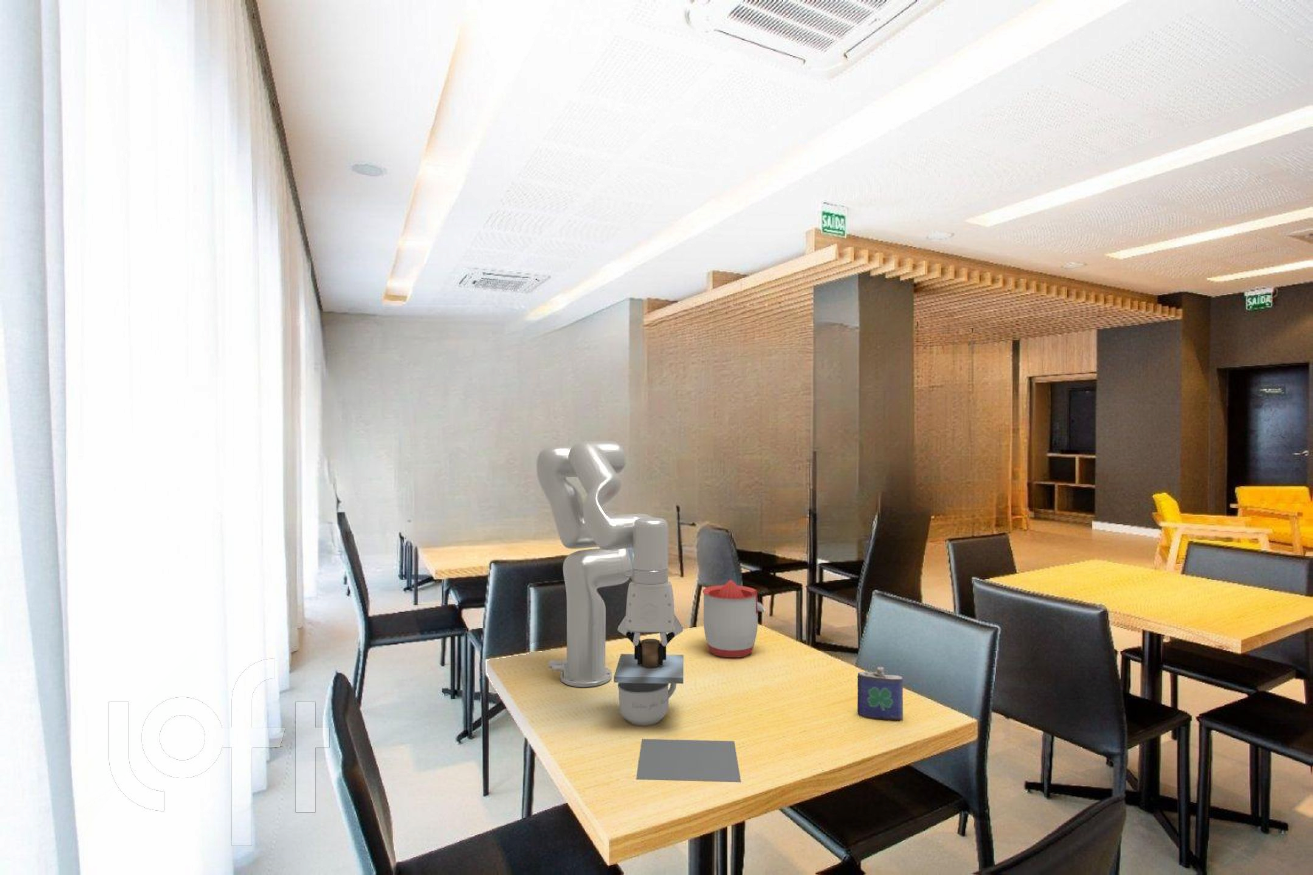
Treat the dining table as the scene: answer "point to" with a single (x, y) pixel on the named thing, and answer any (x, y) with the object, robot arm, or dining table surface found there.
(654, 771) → the tray
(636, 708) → the teacup
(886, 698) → the flask
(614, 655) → the dining table surface
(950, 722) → the dining table surface
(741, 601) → the citrus juicer
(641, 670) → the lid
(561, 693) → the dining table surface
